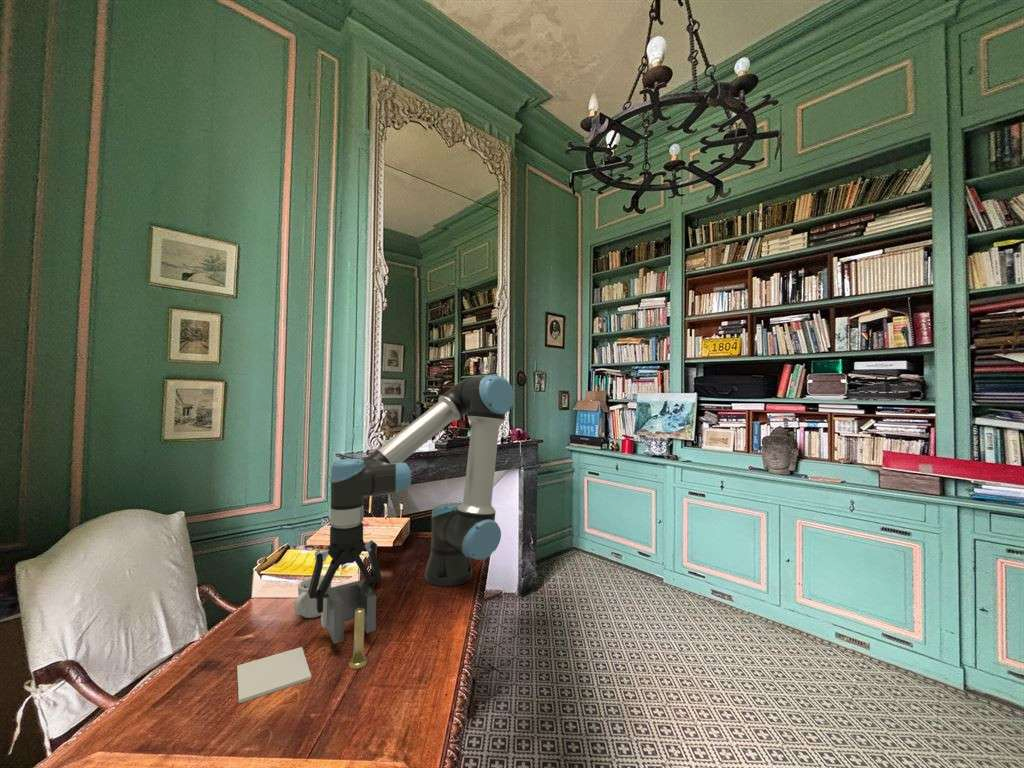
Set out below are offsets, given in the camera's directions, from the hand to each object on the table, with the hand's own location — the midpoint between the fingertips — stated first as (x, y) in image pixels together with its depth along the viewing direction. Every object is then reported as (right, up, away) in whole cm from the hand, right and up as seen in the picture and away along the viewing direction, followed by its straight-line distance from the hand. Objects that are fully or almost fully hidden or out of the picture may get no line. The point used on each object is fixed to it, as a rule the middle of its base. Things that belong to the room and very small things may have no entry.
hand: (345, 618), depth 98 cm
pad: (-8, -2, -16) cm, 18 cm away
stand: (+7, -3, -12) cm, 14 cm away
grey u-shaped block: (+2, 0, -3) cm, 4 cm away
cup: (-12, -4, +7) cm, 15 cm away
